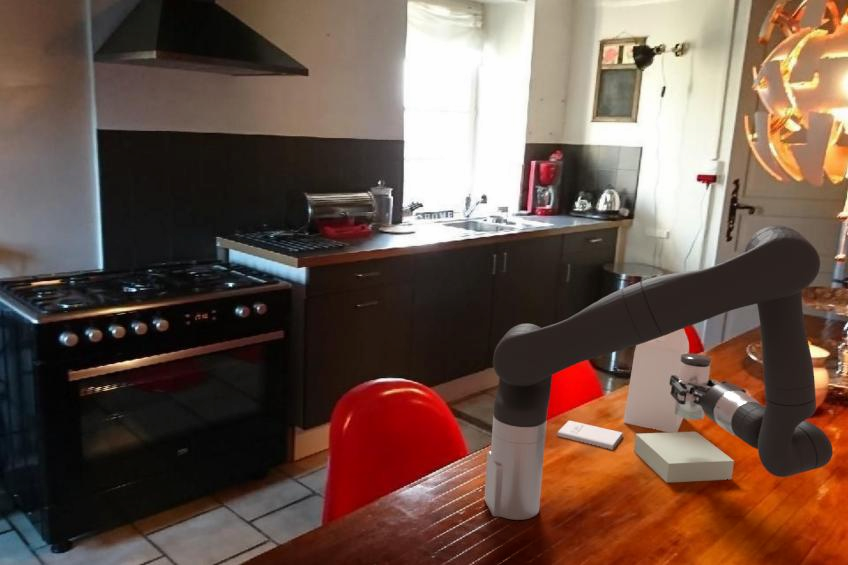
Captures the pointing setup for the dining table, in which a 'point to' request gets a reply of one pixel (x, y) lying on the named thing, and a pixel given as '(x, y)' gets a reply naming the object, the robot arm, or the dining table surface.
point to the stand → (683, 457)
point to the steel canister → (693, 371)
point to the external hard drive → (590, 434)
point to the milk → (655, 382)
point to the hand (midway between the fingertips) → (686, 379)
